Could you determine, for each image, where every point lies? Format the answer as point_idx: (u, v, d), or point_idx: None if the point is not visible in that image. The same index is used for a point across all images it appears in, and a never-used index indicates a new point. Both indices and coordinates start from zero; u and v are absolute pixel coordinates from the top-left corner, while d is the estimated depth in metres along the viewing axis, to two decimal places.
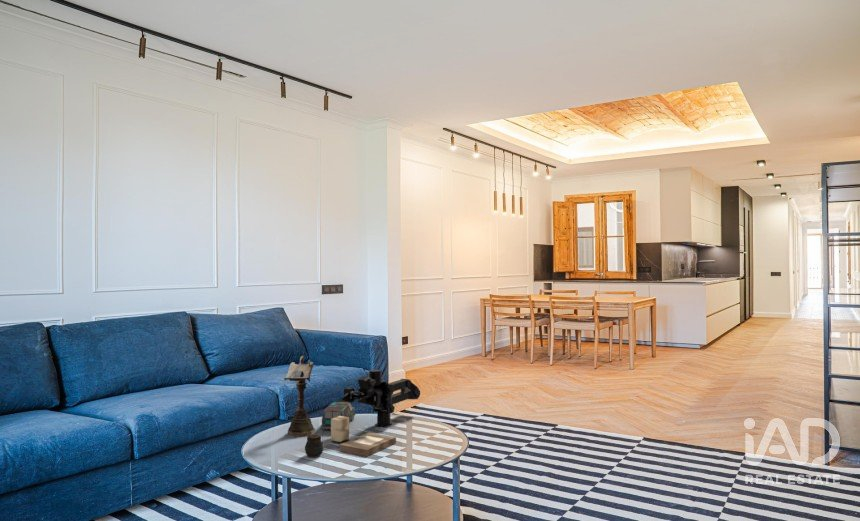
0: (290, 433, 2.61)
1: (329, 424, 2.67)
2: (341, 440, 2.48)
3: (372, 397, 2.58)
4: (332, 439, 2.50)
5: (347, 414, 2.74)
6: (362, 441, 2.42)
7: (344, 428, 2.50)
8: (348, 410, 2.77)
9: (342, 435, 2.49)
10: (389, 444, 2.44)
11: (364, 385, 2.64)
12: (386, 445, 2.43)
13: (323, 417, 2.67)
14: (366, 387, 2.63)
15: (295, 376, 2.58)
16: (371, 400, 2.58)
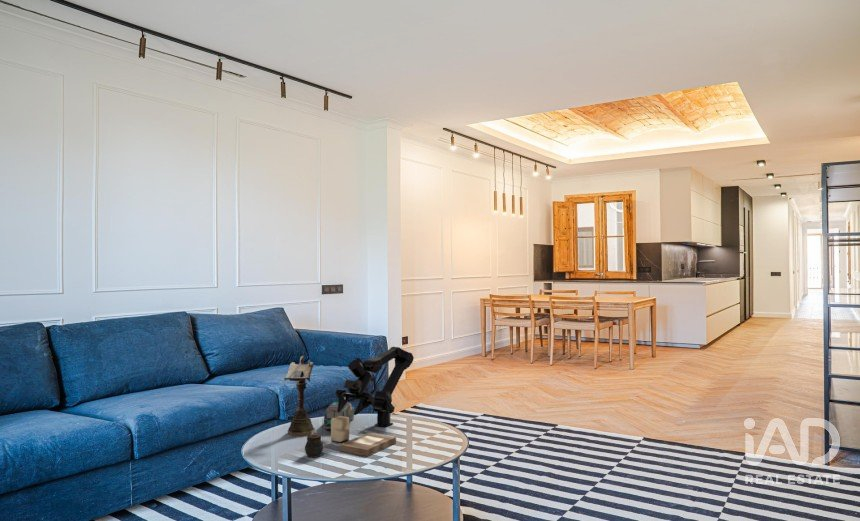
0: (290, 433, 2.61)
1: None
2: (341, 440, 2.48)
3: (365, 401, 2.55)
4: (332, 439, 2.50)
5: (348, 414, 2.75)
6: (362, 441, 2.42)
7: (344, 428, 2.50)
8: (349, 410, 2.78)
9: (342, 435, 2.49)
10: (389, 444, 2.44)
11: (351, 388, 2.58)
12: (386, 445, 2.43)
13: (325, 417, 2.67)
14: (355, 389, 2.58)
15: (295, 376, 2.58)
16: (365, 403, 2.56)
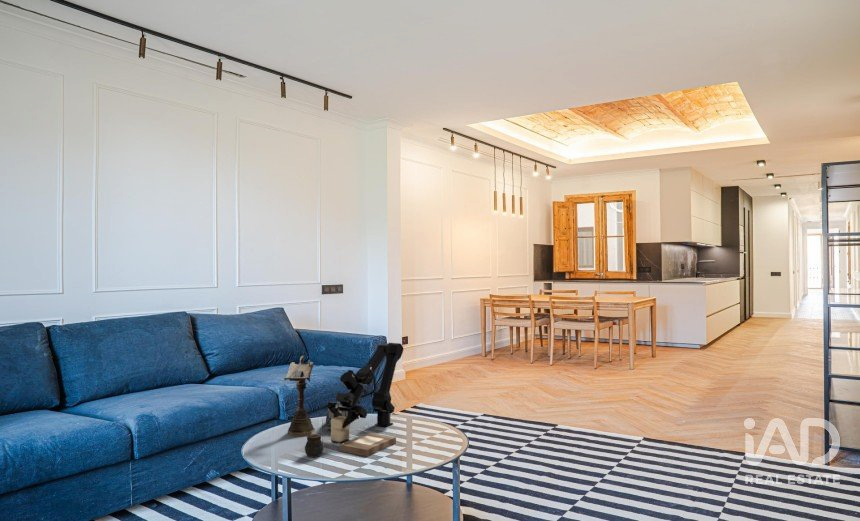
0: (290, 433, 2.61)
1: None
2: (341, 440, 2.48)
3: (353, 414, 2.51)
4: (332, 439, 2.50)
5: None
6: (362, 441, 2.42)
7: (344, 428, 2.50)
8: None
9: (342, 435, 2.49)
10: (389, 444, 2.44)
11: (343, 401, 2.53)
12: (386, 445, 2.43)
13: (327, 417, 2.67)
14: (347, 402, 2.53)
15: (295, 376, 2.58)
16: (354, 415, 2.52)
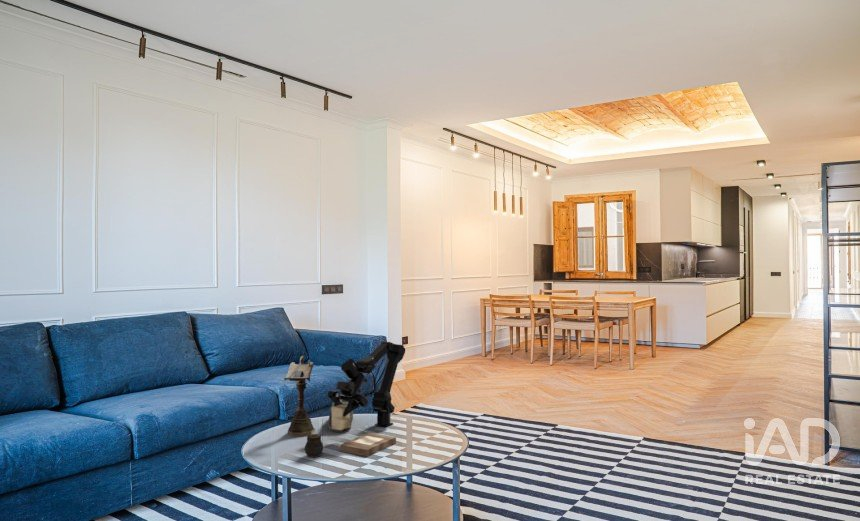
0: (290, 433, 2.61)
1: None
2: (342, 428, 2.48)
3: (354, 402, 2.51)
4: (333, 427, 2.49)
5: (351, 413, 2.76)
6: (362, 441, 2.42)
7: (344, 417, 2.50)
8: None
9: (343, 424, 2.49)
10: (389, 444, 2.44)
11: (344, 389, 2.53)
12: (386, 445, 2.43)
13: (330, 417, 2.67)
14: (347, 390, 2.53)
15: (295, 376, 2.58)
16: (354, 404, 2.52)
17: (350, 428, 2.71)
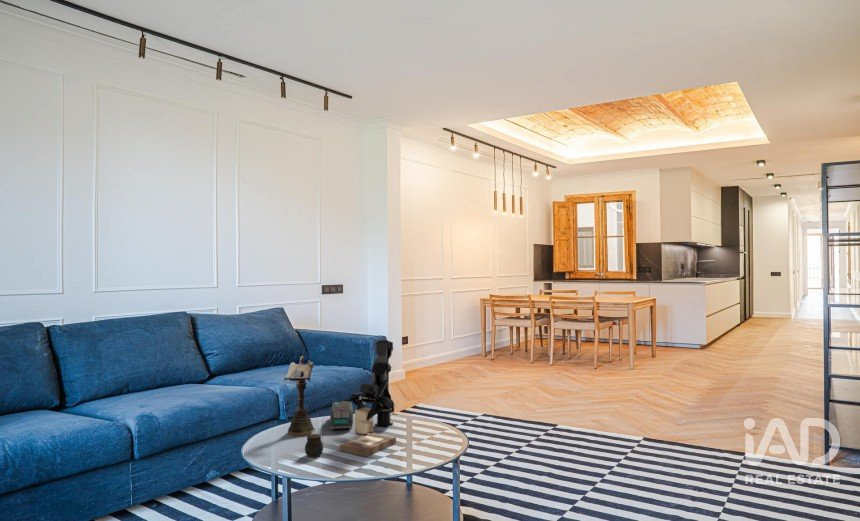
0: (290, 433, 2.61)
1: (338, 424, 2.67)
2: (365, 432, 2.42)
3: (378, 405, 2.44)
4: (356, 431, 2.43)
5: (352, 413, 2.76)
6: (362, 441, 2.42)
7: (368, 420, 2.43)
8: (352, 409, 2.79)
9: (366, 427, 2.42)
10: (389, 444, 2.44)
11: (367, 392, 2.46)
12: (386, 445, 2.43)
13: (332, 417, 2.67)
14: (371, 393, 2.46)
15: (295, 376, 2.58)
16: (378, 407, 2.45)
17: (351, 428, 2.72)
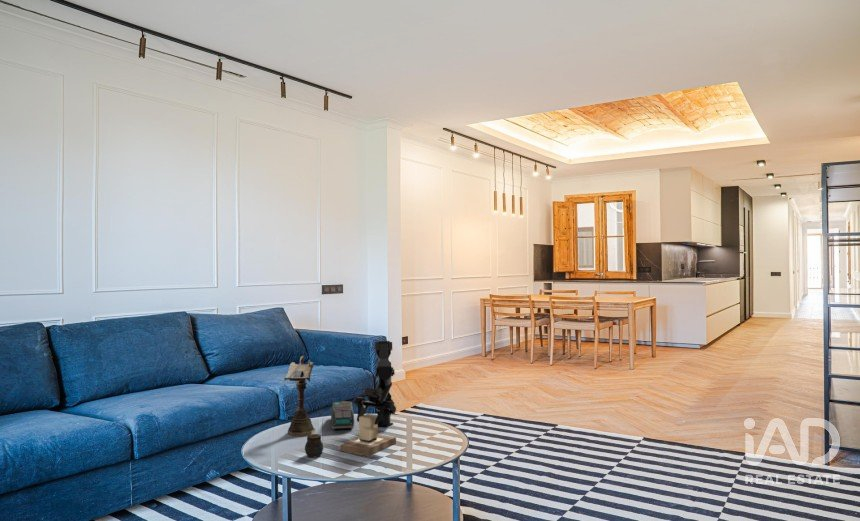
0: (290, 433, 2.61)
1: (340, 423, 2.68)
2: (370, 439, 2.41)
3: (386, 410, 2.42)
4: (360, 438, 2.42)
5: (353, 413, 2.77)
6: (362, 441, 2.42)
7: (372, 426, 2.42)
8: None
9: (371, 434, 2.41)
10: (389, 444, 2.44)
11: (371, 396, 2.45)
12: (386, 445, 2.43)
13: (333, 417, 2.67)
14: (375, 397, 2.45)
15: (295, 376, 2.58)
16: (386, 411, 2.44)
17: (352, 427, 2.72)
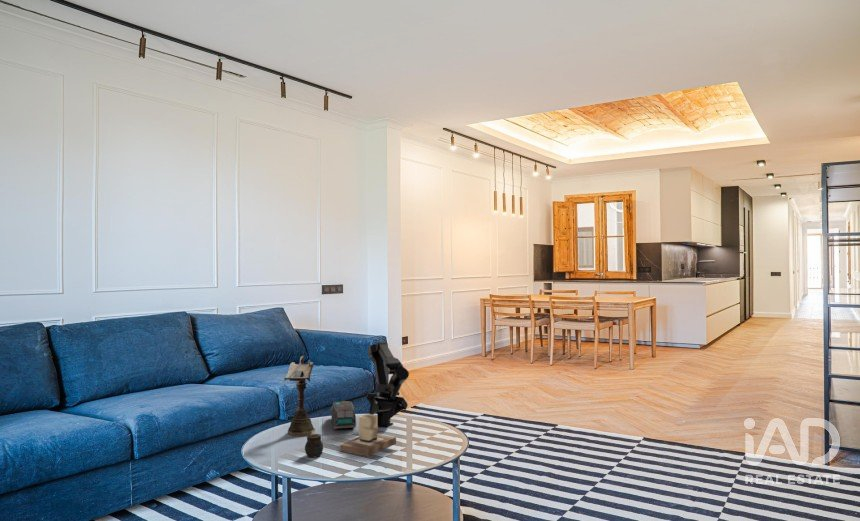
0: (290, 433, 2.61)
1: (342, 423, 2.68)
2: (370, 439, 2.41)
3: (398, 405, 2.50)
4: (360, 438, 2.42)
5: None
6: (362, 441, 2.42)
7: (372, 426, 2.42)
8: None
9: (371, 434, 2.41)
10: (389, 444, 2.44)
11: (384, 392, 2.53)
12: (386, 445, 2.43)
13: (335, 417, 2.67)
14: (387, 393, 2.53)
15: (295, 376, 2.58)
16: (398, 407, 2.51)
17: (354, 427, 2.73)
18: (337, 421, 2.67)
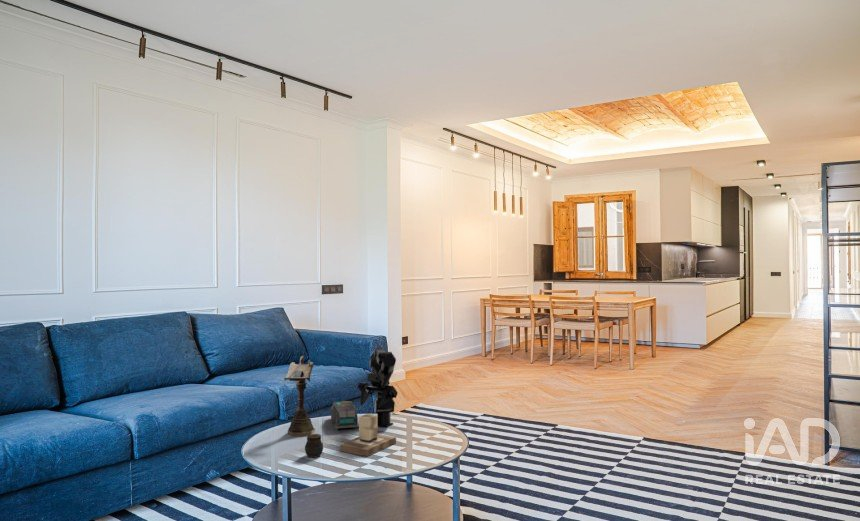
0: (290, 433, 2.61)
1: (344, 423, 2.68)
2: (370, 439, 2.41)
3: (388, 394, 2.58)
4: (360, 438, 2.42)
5: None
6: (362, 441, 2.42)
7: (372, 426, 2.42)
8: None
9: (371, 434, 2.41)
10: (389, 444, 2.44)
11: (374, 381, 2.61)
12: (386, 445, 2.43)
13: (337, 417, 2.68)
14: (378, 382, 2.61)
15: (295, 376, 2.58)
16: (388, 395, 2.59)
17: None
18: (339, 421, 2.68)
